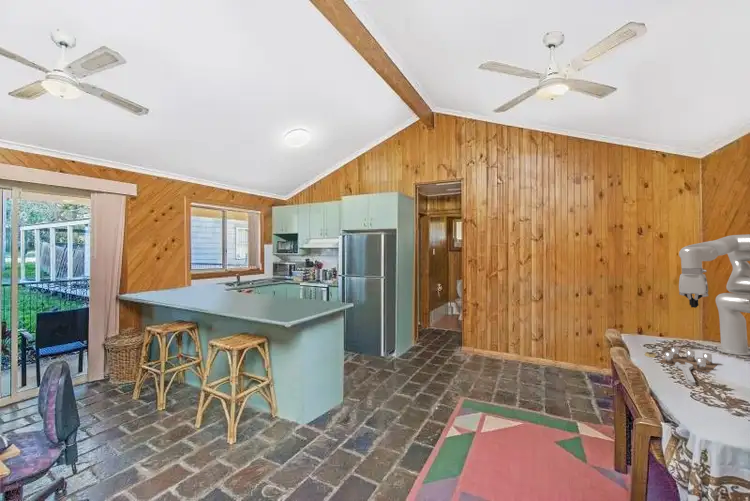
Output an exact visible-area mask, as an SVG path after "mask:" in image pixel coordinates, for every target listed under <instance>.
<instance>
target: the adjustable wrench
mask: <svg viewBox="0 0 750 501" xmlns="http://www.w3.org/2000/svg"><path fill="white" fill-rule="evenodd" d="M674 368H675V369H678V370H681V371H682V373H683V375H684V380H685V381H686V384H687V385H690V386H696V380H695V378H694V376H693V374H692V372H691V370H694V369H693V365H692V364H690V363H687V362H685V365H681V364H680V363H679V362H676V363H675V366H674Z"/></svg>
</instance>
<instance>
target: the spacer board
mask: <svg viewBox="0 0 750 501" xmlns="http://www.w3.org/2000/svg"><path fill="white" fill-rule="evenodd" d="M673 361H674V363H673V364H670V363H666V362H665V358H662V359H661V360H659V361H658V363H661V364H665V365H670V366H674V367H675V363H676V362H679V363H680V364H681V365H685V362H687V363H690V364H692V365H693V369H692V370H694V371H699V372H705V373H710V372H711V371H712V370H714V369H715V368H716V367H717V366H719V363H713V362H712V365H706V370H699V369H697V360H696V359H695V362H689V361H687V357H681V356H679V359H674V358H673Z"/></svg>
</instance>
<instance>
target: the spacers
mask: <svg viewBox="0 0 750 501" xmlns="http://www.w3.org/2000/svg"><path fill="white" fill-rule="evenodd" d="M685 352H686V358H687V361H689V362H695V360H697V369H699V370H706V365H712V363H713V356H712V353H708V352H703V353H702V357H696V356H695V355H696V353H695V351H694V350H691V349H686V351H685ZM664 357H665V362H666V363H670V364H673V363H674V361H673V358H674V359H679V357H680V353H679V348H678V347H670V351H664ZM670 364H669V365H670ZM699 370H698V371H699Z"/></svg>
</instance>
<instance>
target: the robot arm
mask: <svg viewBox="0 0 750 501" xmlns="http://www.w3.org/2000/svg"><path fill="white" fill-rule="evenodd" d="M724 255H727V256H728V259H729V262H730V264H731V266H732V271H731V274H730V276H729V278H728V280H727V283H726V290H727V291H728V292H723V293H719V294H718V295H717V296H716V297H715V304H716V307H717V310H718V317H719V318H718V320H719V333H720V334H719V335H720V345H719V346H717V347H716V349H717V350H718V351H719V352H722V353H725V354H729V355H737V356H750V349H749V347H748V332H747V330H748V329H747V320H746V317H745V316H744V315H743V314H742V313H744V314H745V313H746V314H750V234H732V235H727V236H724V237H720V238H718V239H715V240H708V241H702V242H699V243H693V244H689V245H686V246H684V247H681V249H680V250H679V251H678V256H679V258H680V265H681V274H680V275H679V279H678V280H679V281H678V294H679V295H680V296H684V297H685V298H686V299H688V302H689V306H690V308H695V309H696V308H698V307H699V299H700V300H701V298H706V297H709V285H708V280H707V276H706V274H704V273H707V269H704V268H703V262H712V261H714V260H715V259H717V258H718V257H719V256H724ZM693 295H694V297H693Z"/></svg>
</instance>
